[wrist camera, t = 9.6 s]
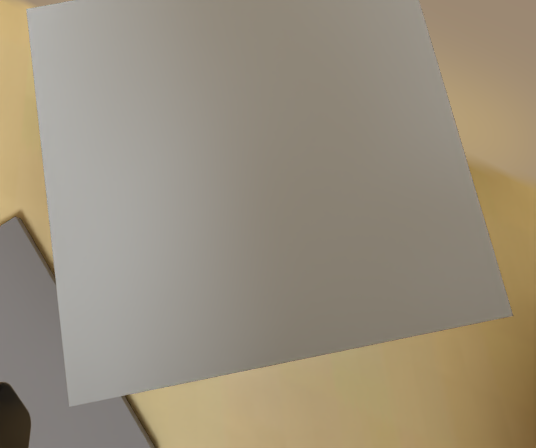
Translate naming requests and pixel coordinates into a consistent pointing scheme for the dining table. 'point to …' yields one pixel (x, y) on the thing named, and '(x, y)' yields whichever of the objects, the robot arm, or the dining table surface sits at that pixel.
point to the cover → (249, 186)
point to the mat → (49, 357)
